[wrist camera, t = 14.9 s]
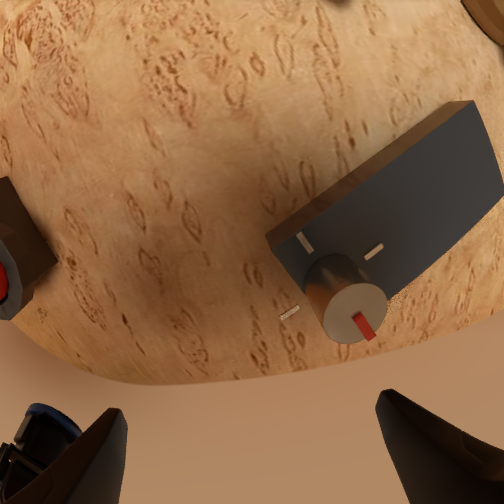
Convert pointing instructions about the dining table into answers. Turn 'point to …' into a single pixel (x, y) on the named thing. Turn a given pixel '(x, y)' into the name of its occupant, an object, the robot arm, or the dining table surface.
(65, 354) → the dining table surface
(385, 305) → the dial
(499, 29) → the lantern
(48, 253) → the power button base
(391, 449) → the robot arm
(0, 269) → the power button
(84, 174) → the dining table surface
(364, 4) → the dining table surface
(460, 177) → the panel
